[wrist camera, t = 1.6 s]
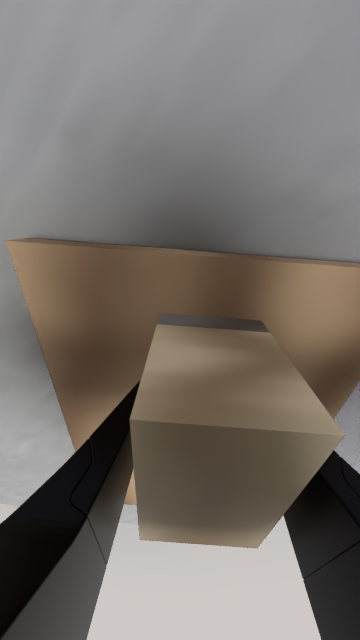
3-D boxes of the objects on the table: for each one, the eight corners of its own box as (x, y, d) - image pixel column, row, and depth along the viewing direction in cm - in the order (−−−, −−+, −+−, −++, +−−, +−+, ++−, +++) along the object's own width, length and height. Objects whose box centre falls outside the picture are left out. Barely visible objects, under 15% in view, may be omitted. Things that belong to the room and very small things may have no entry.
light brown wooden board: (401, 266, 8) (434, 273, 7) (263, 497, 19) (268, 514, 17) (29, 237, 8) (5, 240, 7) (97, 485, 18) (91, 502, 17)
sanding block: (261, 320, 8) (345, 436, 4) (230, 422, 12) (257, 548, 7) (160, 313, 8) (129, 420, 4) (157, 417, 12) (139, 539, 7)
